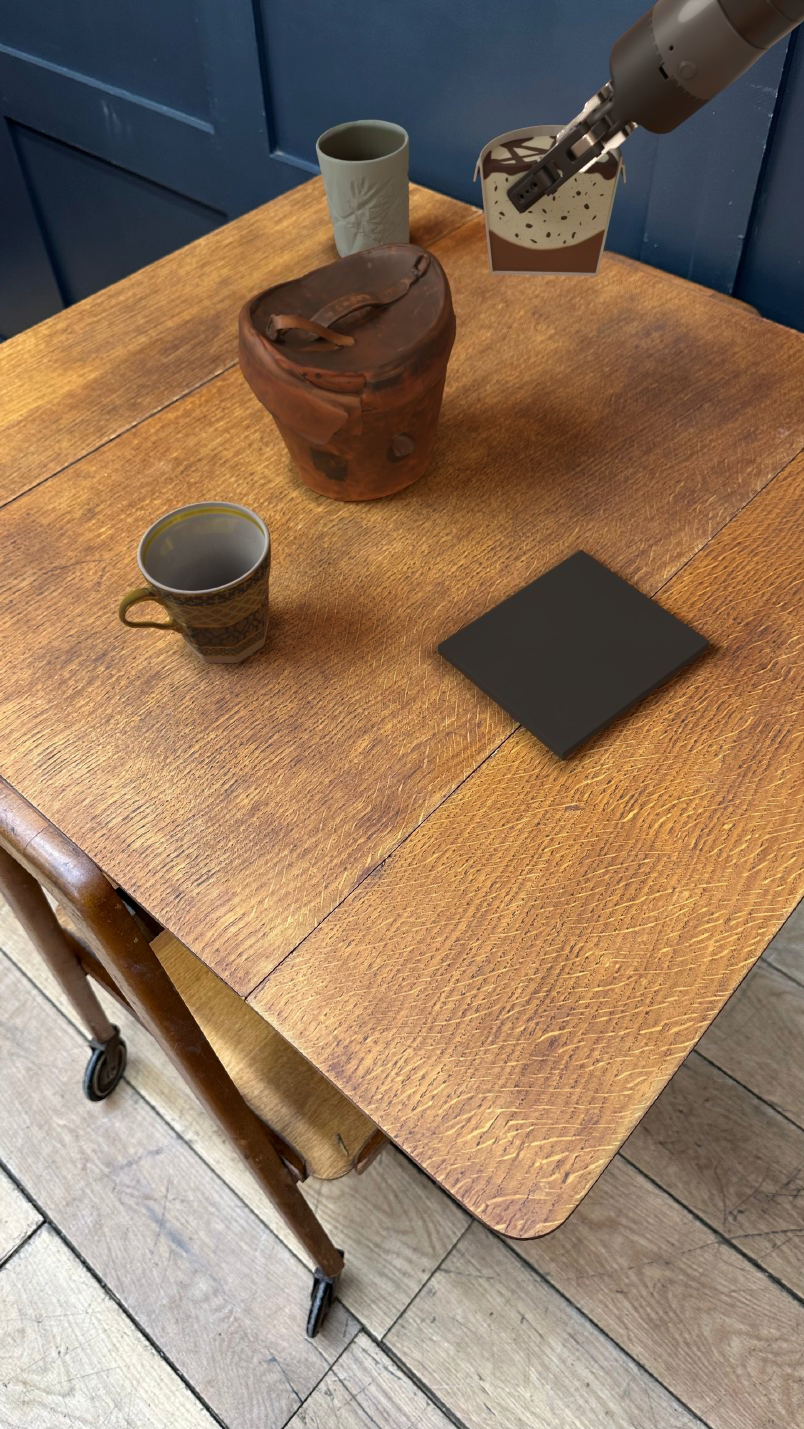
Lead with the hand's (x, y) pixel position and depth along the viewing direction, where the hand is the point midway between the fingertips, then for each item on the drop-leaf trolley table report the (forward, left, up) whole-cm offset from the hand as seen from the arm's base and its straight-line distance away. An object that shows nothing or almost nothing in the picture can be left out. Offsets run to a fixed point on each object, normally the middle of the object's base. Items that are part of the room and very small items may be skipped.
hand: (535, 181), depth 87 cm
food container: (-1, +1, -7) cm, 7 cm away
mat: (+21, +28, -20) cm, 40 cm away
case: (+19, -2, -21) cm, 28 cm away
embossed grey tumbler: (-6, -32, -21) cm, 39 cm away
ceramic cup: (+42, +8, -21) cm, 48 cm away
